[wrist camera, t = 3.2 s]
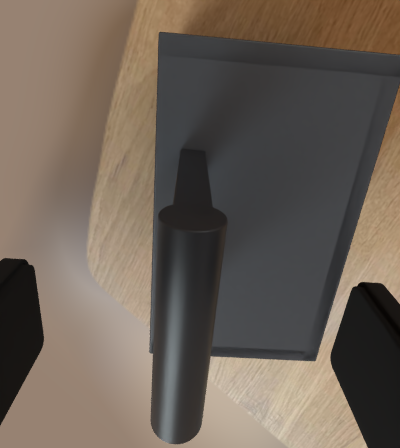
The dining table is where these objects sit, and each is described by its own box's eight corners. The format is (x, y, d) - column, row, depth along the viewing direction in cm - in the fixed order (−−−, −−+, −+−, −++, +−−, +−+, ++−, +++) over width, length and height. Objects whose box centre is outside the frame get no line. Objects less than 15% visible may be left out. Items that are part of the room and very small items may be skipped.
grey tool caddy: (273, 257, 29) (164, 250, 28) (313, 57, 22) (174, 44, 22) (382, 524, 12) (124, 518, 12) (652, 49, 6) (116, -4, 5)
